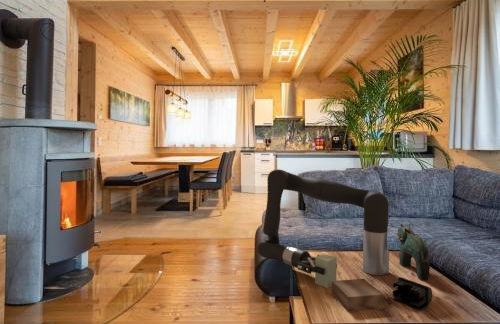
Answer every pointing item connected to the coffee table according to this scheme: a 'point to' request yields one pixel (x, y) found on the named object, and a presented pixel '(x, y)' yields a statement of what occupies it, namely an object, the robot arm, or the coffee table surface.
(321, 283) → the tall sage green block
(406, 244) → the green animal figurine
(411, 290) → the end cap
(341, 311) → the coffee table surface
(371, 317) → the coffee table surface
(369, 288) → the walnut box
